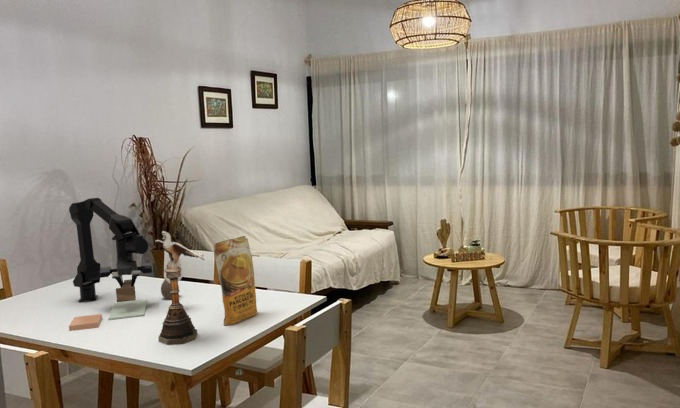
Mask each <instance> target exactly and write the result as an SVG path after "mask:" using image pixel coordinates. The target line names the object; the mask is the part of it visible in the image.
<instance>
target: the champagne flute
mask: <svg viewBox="0 0 680 408" xmlns="http://www.w3.org/2000/svg"><path fill="white" fill-rule="evenodd" d="M163 250H164V249H163ZM163 255H164V257H163V258H164V259H163V278H164V280H165V279H166V281H168V282H169V283H170V281H169V280H170V279H169V278H167V277H166V274H167V273H166V272H165V269H166V268H167V267H166V265H167V263H168V262H169V261H170V260H171V259H170V257H169V253H168V252H166V251H165V250H164V254H163ZM180 257H181V256H180ZM180 257H179V259H178V263H179V267H180V268H181V269H182V270H181V272H180V273H181V276H180V277H178V283H179V282H180V281H181V280H182V278H183V276H184V274H183V267H182V262H181V258H180ZM183 308H184V310H185V311H186V308H185V307H184V306H183ZM168 310H169V309H167V310H166V313H168Z"/></svg>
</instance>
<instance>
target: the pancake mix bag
mask: <svg viewBox="0 0 680 408" xmlns="http://www.w3.org/2000/svg"><path fill="white" fill-rule="evenodd" d="M213 256H214V261H215V265H216V272H217V278H218V281H219V284H220V288H221V296H222V304H223V309H224V318H223V325H224V326H228V325H235V324H238V323H240V322H243V321H245V320H248V319H249V318H250V319H251V318H253V317H255V316H257V315H258V314H257V313H258V309H257V293H256V282H255V281H256V280H255V270H254V264H253V263H254V262H253V258H252V253H251V250H250V245H249V240H248V238H247V237H246V235H243V236H239V237H236V238H235V237H234V238H230V239H226V240H221V241H219V242H216V243H214V246H213Z"/></svg>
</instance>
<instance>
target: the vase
mask: <svg viewBox="0 0 680 408" xmlns="http://www.w3.org/2000/svg"><path fill="white" fill-rule="evenodd" d="M179 287H180V286H179V285H178V290H180V288H179ZM170 291H171V284H170V283H169V282H168V281H166V279H165V278H164V280H163V282H162V283H161V286H160V293H161V295H162V297H163V298H164V300H172V298H171V293H170Z"/></svg>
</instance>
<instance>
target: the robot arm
mask: <svg viewBox="0 0 680 408" xmlns="http://www.w3.org/2000/svg"><path fill="white" fill-rule="evenodd" d="M68 208H69V209H68V211H69V215H70V218H71V221H73V223H74V224H75V225H76V231H77V241H78V249H79V257H80V261H79V262H78V265H77V267H76V268H77V270H76V275H75V277H74V279H73V280H72V284H73V286H74V287H76V288H79V296H80V298H79V299H78V302H79V303H83V302H90V301H91V302H92V301H96V300H98V297H99V295H98V294H97V293H96V292H97V291H96V284H97V283H98V284H99V283H100V282H101V279H102V278H109V277H110V275H112V277H111V279H114V280H115V281H116V282H117V283H118V285H119V288H122V285H123V283H124V280H123V276H126V275H127V276H130V275H131V279H132V283H131V287H133V286H135V283H136V280H137V278H138V277H140V276H141V273H142V274H152V273H153V264H152V263H151V262H148V263H147V262H146V263H141V265H140V266H138V264H137V260H134V254H137V255H144V254H146V253H147V251H148V249H149V243H148V240H146V239H145V238H144V235H141V233H140V232H139V230H138V228H137V227H136V225H135V223H134V221H133V220H132V219H131V218H130V217H128V216H126V215H122V214H118V213H117V212H116V211H115V210H114V209H112V208H111V207H109V205H107V204H105V203H104V202H103V201H102V199H101V198H99V197H92V198H87V199H85V200H81V201H79V202H73V203H71V204H70V205H69V207H68ZM94 214H96V215H97V216H98V217H99V218H101V219H102V220H103V221H104V222H106V223H107V225H108V229H109V231H111V232H112V234H114V236H113V237H112V238H111V240H112V241H115V247H116V248H115V250H116V260H117V261H116V268H112V267H111V266H104V267H101V263H100V262H97V261H96V259H95V255H94V245H93V239H92V238H93V237H92V230H91V222H92V220H93V218H94Z"/></svg>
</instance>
